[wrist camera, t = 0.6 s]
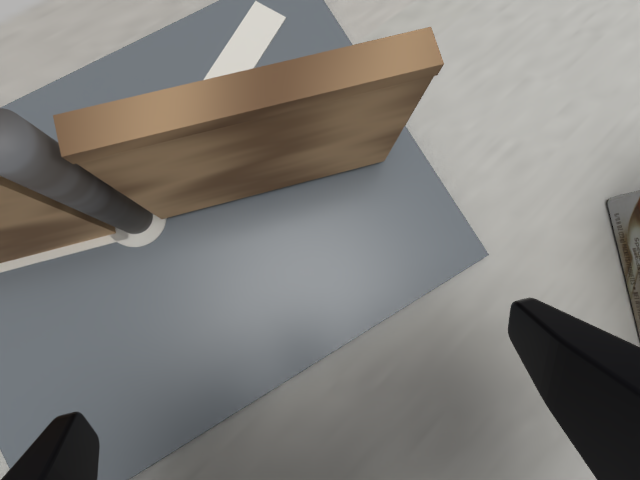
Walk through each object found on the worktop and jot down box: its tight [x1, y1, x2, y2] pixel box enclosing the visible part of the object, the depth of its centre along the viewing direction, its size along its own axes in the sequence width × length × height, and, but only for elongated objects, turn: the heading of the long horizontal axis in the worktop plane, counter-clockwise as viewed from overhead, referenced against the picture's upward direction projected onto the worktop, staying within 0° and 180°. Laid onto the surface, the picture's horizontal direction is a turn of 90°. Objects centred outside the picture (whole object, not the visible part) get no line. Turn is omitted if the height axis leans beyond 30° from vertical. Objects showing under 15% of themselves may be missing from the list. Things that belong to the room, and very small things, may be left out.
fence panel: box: [53, 27, 444, 219], centre depth 16 cm, size 11×1×9 cm, turn 106°
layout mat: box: [0, 0, 489, 480], centre depth 21 cm, size 18×23×1 cm
